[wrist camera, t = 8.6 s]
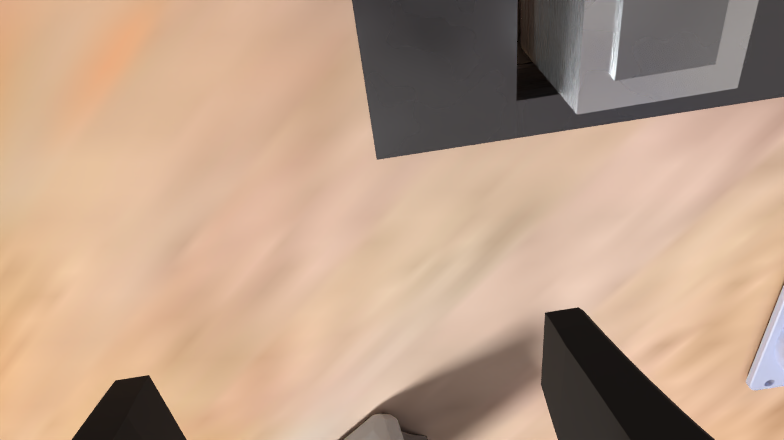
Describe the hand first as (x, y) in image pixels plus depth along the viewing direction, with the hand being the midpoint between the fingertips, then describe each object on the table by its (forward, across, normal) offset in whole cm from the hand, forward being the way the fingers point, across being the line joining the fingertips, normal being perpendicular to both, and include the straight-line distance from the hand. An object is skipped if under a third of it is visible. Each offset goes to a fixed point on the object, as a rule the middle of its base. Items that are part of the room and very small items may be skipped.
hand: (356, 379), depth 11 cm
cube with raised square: (+10, -8, -4) cm, 14 cm away
